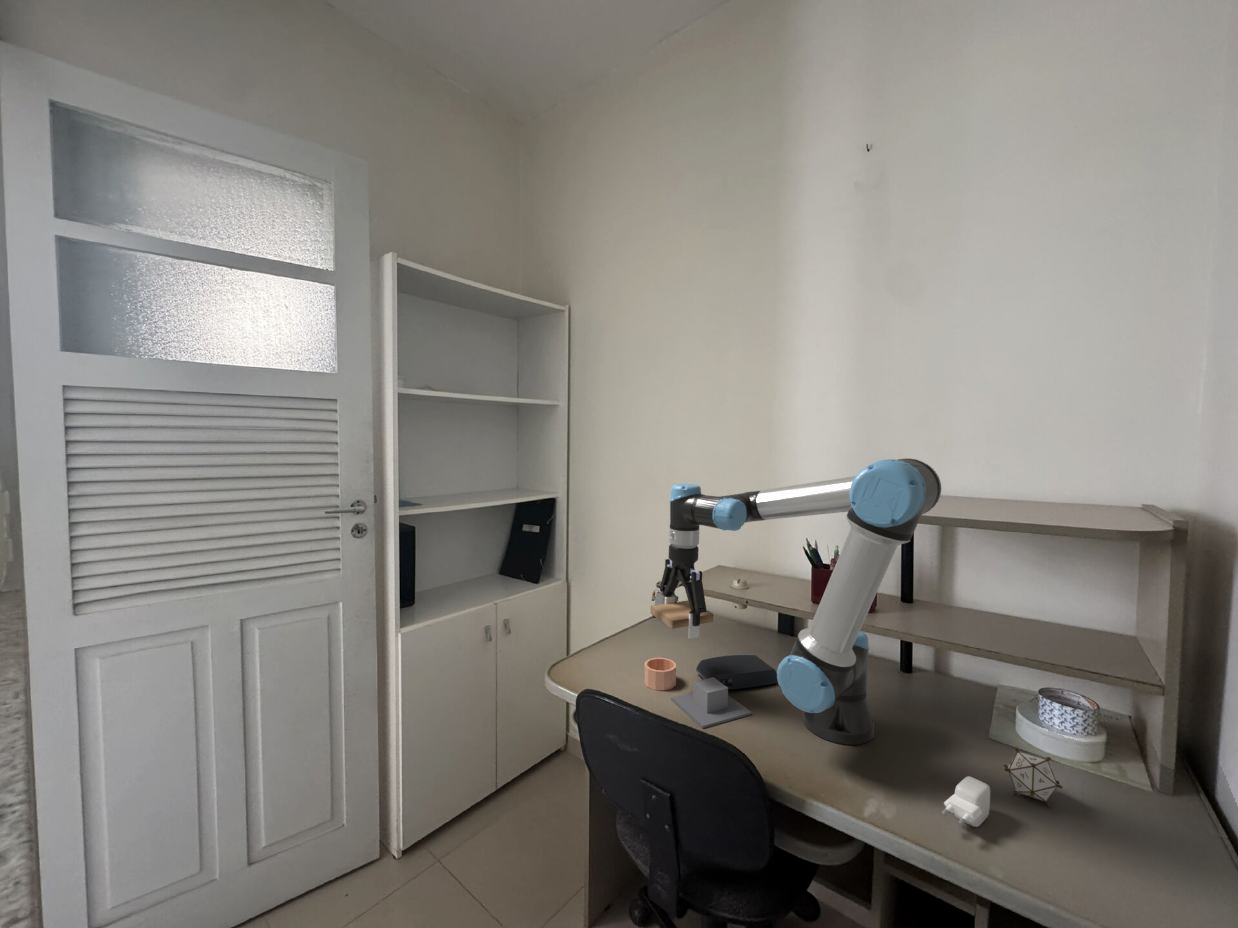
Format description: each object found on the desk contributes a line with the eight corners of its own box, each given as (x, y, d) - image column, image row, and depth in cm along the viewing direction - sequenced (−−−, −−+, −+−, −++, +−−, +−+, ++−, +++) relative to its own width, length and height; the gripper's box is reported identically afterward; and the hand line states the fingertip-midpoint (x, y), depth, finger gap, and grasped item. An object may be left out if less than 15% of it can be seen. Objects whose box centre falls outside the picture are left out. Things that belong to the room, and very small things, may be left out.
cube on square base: (751, 714, 124) (752, 691, 123) (702, 728, 118) (703, 704, 117) (716, 688, 136) (717, 667, 136) (670, 699, 130) (671, 678, 130)
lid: (713, 621, 131) (713, 614, 130) (672, 628, 125) (672, 620, 125) (689, 607, 140) (689, 600, 140) (650, 613, 135) (650, 605, 135)
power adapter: (967, 847, 84) (968, 812, 84) (935, 828, 88) (936, 795, 88) (994, 818, 91) (995, 786, 90) (963, 801, 95) (964, 771, 94)
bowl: (681, 686, 137) (681, 667, 137) (654, 692, 134) (654, 673, 134) (665, 672, 145) (665, 655, 145) (639, 678, 141) (639, 660, 141)
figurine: (689, 619, 187) (689, 578, 186) (663, 625, 181) (664, 583, 180) (673, 611, 195) (673, 572, 194) (648, 617, 189) (649, 576, 188)
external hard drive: (693, 670, 145) (694, 656, 145) (754, 664, 151) (755, 650, 150) (715, 693, 133) (716, 677, 132) (780, 685, 138) (781, 670, 138)
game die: (1035, 823, 95) (1040, 800, 89) (990, 780, 102) (992, 756, 96) (1071, 794, 96) (1078, 770, 90) (1024, 754, 103) (1028, 729, 98)
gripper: (648, 536, 140) (646, 614, 142) (697, 557, 119) (693, 649, 121) (672, 534, 144) (669, 611, 145) (723, 554, 123) (720, 644, 124)
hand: (680, 628), depth 133 cm, fingers closed on lid, 11 cm apart
